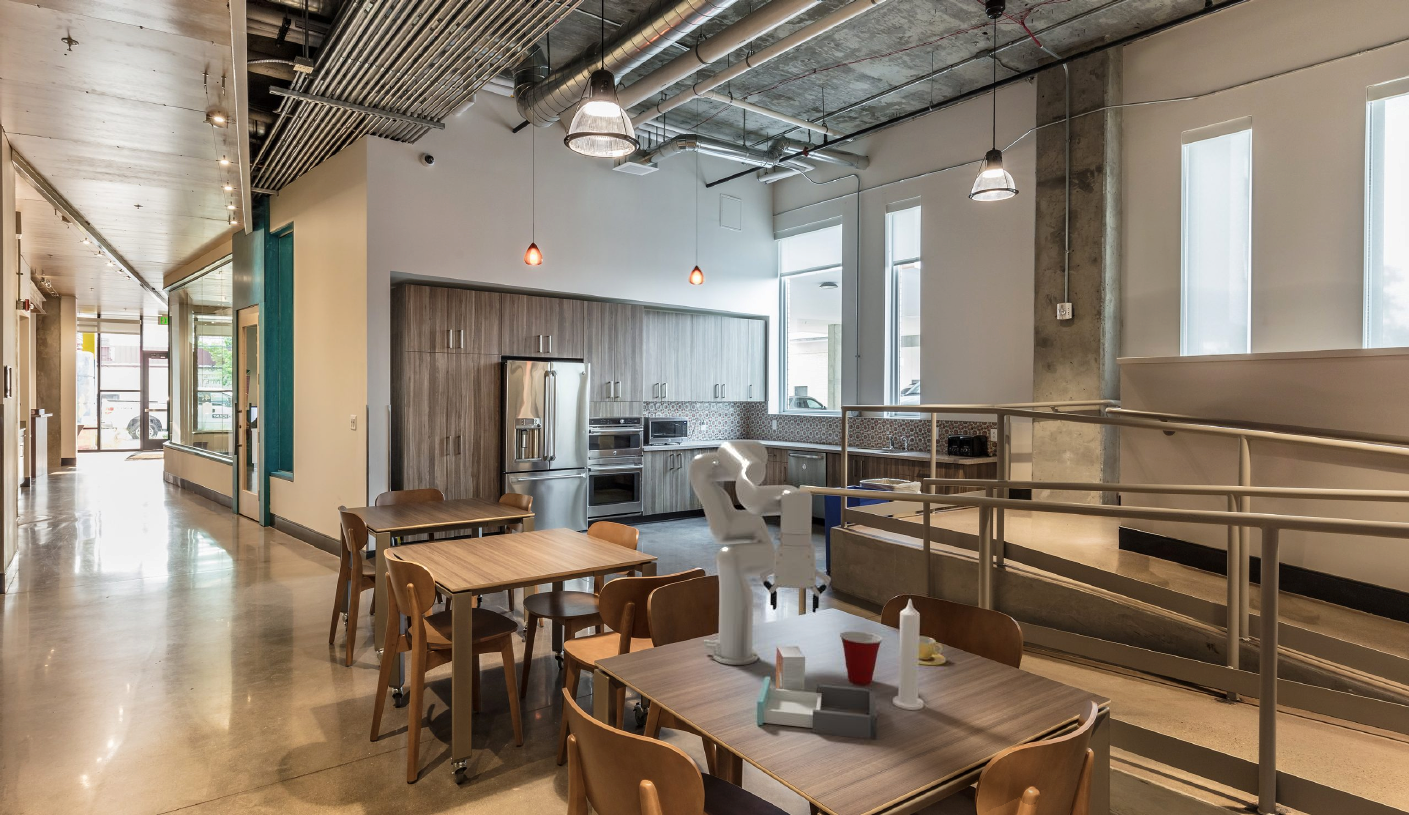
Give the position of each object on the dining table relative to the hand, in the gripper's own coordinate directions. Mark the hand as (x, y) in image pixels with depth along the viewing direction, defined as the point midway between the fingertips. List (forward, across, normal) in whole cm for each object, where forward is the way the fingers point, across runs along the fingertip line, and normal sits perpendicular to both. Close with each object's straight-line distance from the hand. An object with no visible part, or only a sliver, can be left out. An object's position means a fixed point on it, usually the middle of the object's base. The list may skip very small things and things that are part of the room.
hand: (794, 609), depth 177 cm
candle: (+21, +27, 0) cm, 34 cm away
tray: (+20, 0, -12) cm, 24 cm away
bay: (+20, +12, -13) cm, 27 cm away
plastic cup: (+21, +16, +12) cm, 29 cm away
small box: (+21, -1, 0) cm, 21 cm away
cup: (+21, +34, +35) cm, 53 cm away
